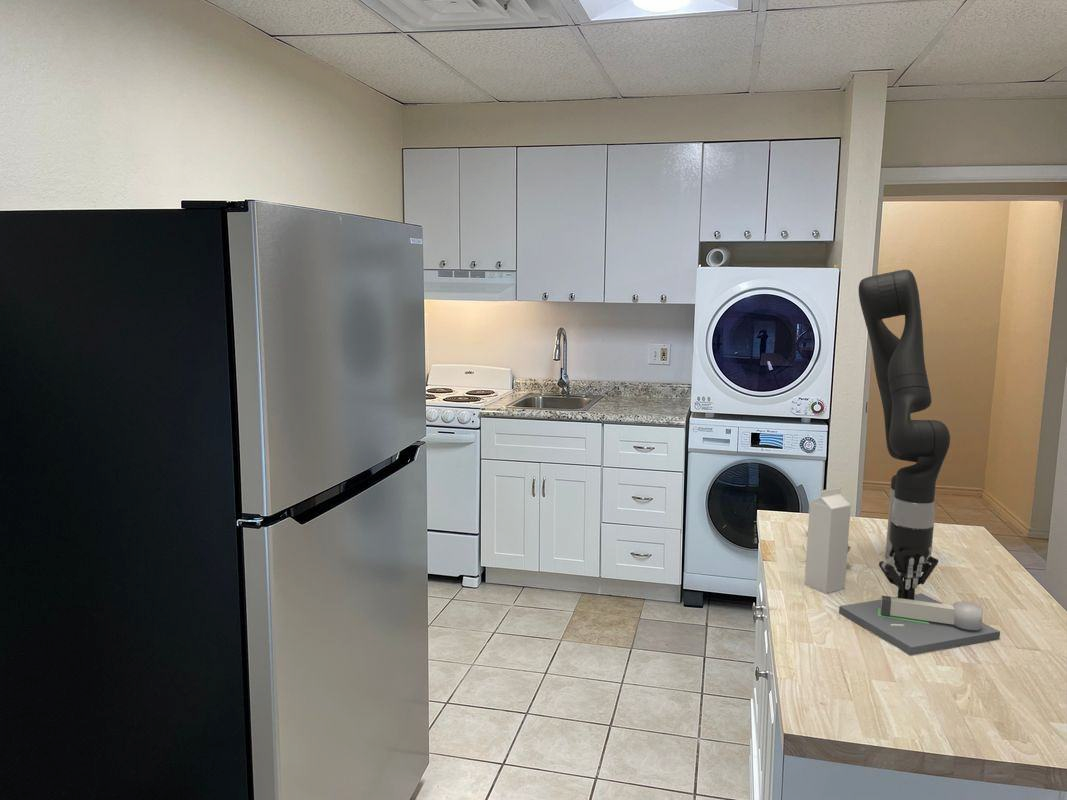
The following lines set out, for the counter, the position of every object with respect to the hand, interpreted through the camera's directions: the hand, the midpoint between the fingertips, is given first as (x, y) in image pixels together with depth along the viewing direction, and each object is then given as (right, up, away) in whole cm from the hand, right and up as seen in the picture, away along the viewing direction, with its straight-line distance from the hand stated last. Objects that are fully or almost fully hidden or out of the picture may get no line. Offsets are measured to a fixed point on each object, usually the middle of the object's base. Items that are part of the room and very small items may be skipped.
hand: (905, 605), depth 159 cm
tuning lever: (+3, -2, -4) cm, 5 cm away
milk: (-10, 0, +17) cm, 19 cm away
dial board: (+1, -3, -3) cm, 4 cm away
